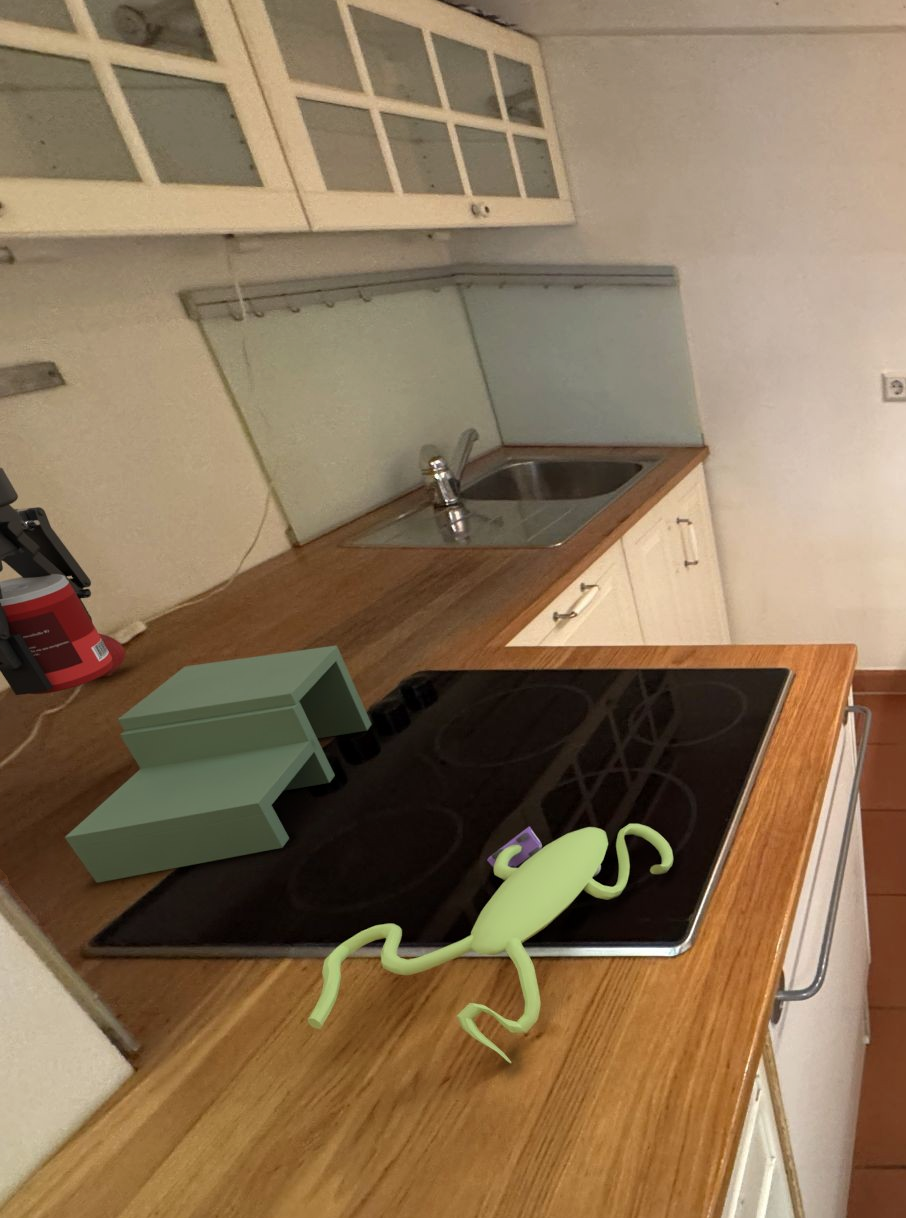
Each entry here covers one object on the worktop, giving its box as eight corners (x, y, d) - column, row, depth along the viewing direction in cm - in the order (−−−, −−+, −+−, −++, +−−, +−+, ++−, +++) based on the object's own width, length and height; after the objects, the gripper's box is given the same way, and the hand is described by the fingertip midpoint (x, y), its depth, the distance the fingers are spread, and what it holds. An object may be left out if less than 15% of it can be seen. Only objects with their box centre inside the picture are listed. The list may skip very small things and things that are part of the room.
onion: (125, 663, 120) (98, 617, 116) (142, 670, 117) (115, 624, 114) (74, 681, 115) (44, 634, 111) (90, 689, 113) (61, 641, 109)
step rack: (96, 883, 77) (29, 787, 72) (229, 747, 98) (184, 666, 92) (282, 847, 81) (231, 754, 75) (372, 724, 101) (337, 645, 96)
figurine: (294, 1043, 60) (264, 995, 58) (547, 819, 83) (533, 777, 81) (478, 1107, 55) (453, 1057, 53) (694, 849, 78) (683, 806, 76)
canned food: (91, 656, 90) (40, 569, 85) (133, 666, 87) (83, 577, 83) (0, 689, 83) (-60, 597, 78) (42, 701, 81) (-18, 607, 76)
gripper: (-107, 497, 67) (34, 715, 77) (67, 444, 85) (164, 626, 95) (-222, 506, 65) (-61, 728, 75) (-19, 450, 83) (89, 635, 93)
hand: (64, 671), depth 85 cm, fingers closed on canned food, 8 cm apart
